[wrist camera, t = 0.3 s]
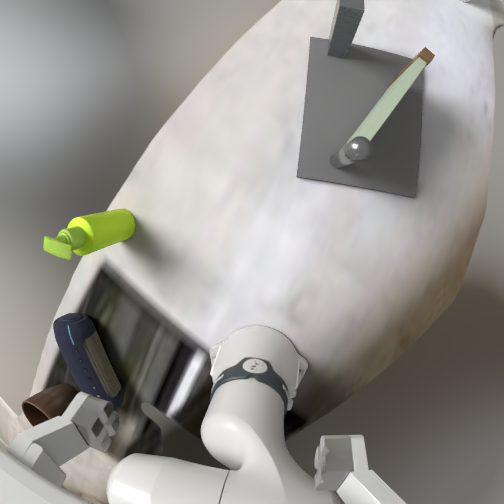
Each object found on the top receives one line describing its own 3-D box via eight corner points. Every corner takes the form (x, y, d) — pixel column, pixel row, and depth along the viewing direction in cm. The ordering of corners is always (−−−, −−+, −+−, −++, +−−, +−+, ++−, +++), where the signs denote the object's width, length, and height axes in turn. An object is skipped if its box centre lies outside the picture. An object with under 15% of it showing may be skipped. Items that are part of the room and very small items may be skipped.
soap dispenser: (137, 244, 52) (68, 275, 33) (108, 235, 53) (36, 260, 34) (142, 213, 51) (70, 231, 32) (112, 205, 51) (37, 220, 32)
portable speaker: (135, 397, 62) (117, 422, 52) (106, 394, 64) (87, 417, 54) (96, 304, 57) (68, 323, 48) (67, 308, 59) (40, 324, 49)
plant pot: (73, 370, 64) (38, 402, 48) (100, 413, 66) (72, 448, 51) (46, 373, 67) (14, 400, 51) (71, 411, 69) (44, 441, 54)
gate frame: (412, 197, 44) (468, 207, 26) (296, 176, 46) (298, 172, 28) (419, 64, 38) (465, 22, 20) (310, 40, 40) (315, -21, 22)
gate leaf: (347, 155, 42) (371, 143, 29) (339, 149, 42) (359, 134, 28) (399, 86, 38) (435, 55, 24) (392, 80, 38) (425, 46, 24)
